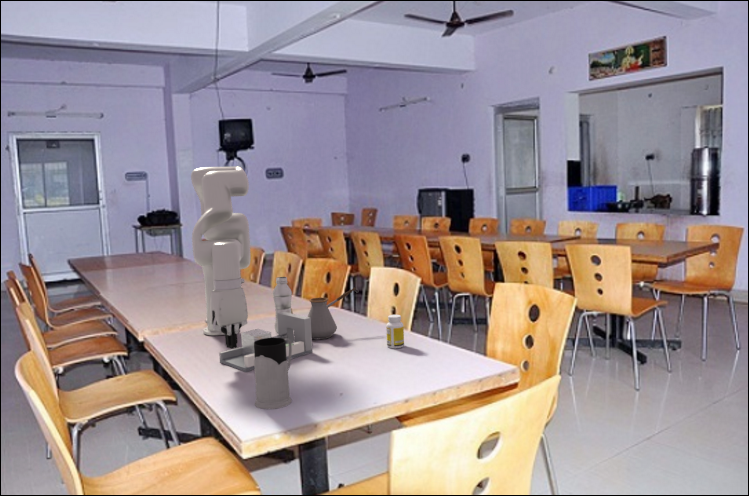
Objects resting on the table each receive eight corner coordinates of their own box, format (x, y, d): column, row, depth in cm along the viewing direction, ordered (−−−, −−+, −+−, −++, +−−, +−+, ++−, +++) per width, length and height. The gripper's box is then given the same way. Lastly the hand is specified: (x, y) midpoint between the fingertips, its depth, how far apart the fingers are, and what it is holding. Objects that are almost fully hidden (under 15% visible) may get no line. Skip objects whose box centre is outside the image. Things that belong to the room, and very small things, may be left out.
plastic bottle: (290, 336, 206) (287, 279, 203) (272, 336, 207) (268, 279, 205) (297, 332, 212) (294, 276, 210) (278, 331, 213) (275, 276, 211)
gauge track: (219, 362, 179) (217, 326, 178) (285, 344, 196) (283, 311, 195) (245, 371, 169) (243, 333, 168) (312, 352, 186) (310, 317, 185)
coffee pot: (313, 342, 197) (311, 297, 196) (297, 336, 207) (295, 293, 205) (367, 331, 209) (366, 289, 207) (350, 325, 219) (348, 285, 217)
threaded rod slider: (242, 355, 181) (241, 332, 180) (280, 345, 191) (279, 323, 190) (263, 362, 173) (261, 338, 172) (301, 351, 183) (300, 328, 182)
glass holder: (247, 407, 143) (243, 345, 141) (277, 387, 156) (274, 330, 154) (280, 410, 139) (276, 347, 138) (308, 390, 153) (305, 332, 151)
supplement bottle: (406, 344, 191) (405, 314, 190) (400, 349, 186) (399, 318, 185) (391, 343, 193) (390, 313, 192) (384, 348, 188) (383, 317, 187)
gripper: (243, 280, 180) (247, 340, 182) (197, 287, 170) (201, 351, 171) (257, 282, 175) (261, 344, 176) (210, 289, 164) (215, 355, 166)
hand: (231, 347), depth 174 cm, fingers closed
